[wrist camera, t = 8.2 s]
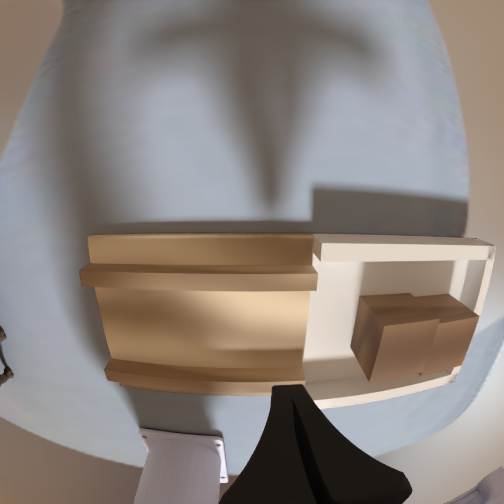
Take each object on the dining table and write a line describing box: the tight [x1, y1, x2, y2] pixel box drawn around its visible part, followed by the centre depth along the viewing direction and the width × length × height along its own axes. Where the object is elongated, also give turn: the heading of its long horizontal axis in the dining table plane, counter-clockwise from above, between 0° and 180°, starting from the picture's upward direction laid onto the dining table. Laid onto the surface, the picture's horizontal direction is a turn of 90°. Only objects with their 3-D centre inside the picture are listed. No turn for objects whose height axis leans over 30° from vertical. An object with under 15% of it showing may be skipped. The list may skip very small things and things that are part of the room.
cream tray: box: [302, 234, 496, 409], centre depth 17 cm, size 12×14×2 cm
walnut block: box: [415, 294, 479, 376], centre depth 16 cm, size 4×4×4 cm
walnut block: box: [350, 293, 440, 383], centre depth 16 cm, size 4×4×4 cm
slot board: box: [79, 233, 318, 396], centre depth 17 cm, size 12×14×2 cm
